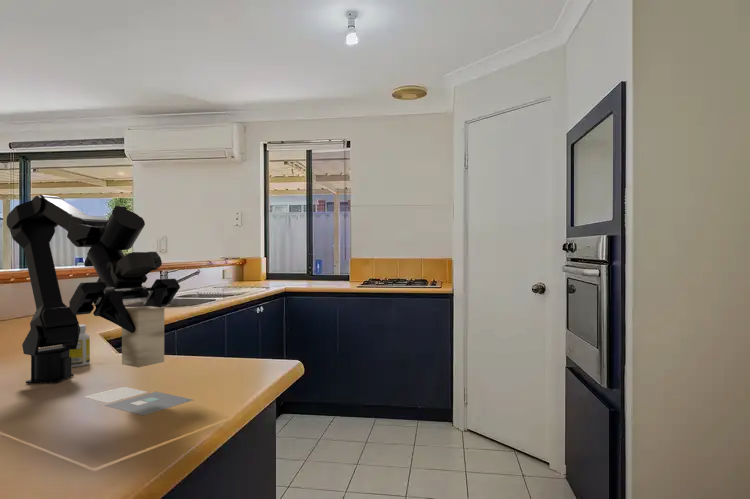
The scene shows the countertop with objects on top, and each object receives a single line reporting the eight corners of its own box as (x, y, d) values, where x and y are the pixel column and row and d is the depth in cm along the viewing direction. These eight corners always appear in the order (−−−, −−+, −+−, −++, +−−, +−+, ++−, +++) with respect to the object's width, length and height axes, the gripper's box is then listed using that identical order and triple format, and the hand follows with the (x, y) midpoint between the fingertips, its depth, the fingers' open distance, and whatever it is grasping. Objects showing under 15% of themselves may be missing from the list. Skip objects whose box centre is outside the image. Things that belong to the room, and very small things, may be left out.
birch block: (121, 364, 86) (122, 308, 86) (147, 359, 90) (147, 306, 90) (138, 367, 83) (138, 310, 83) (164, 362, 88) (164, 307, 88)
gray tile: (104, 407, 84) (104, 405, 84) (156, 393, 93) (156, 391, 93) (142, 417, 78) (142, 415, 78) (194, 401, 87) (194, 399, 87)
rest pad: (83, 398, 89) (83, 396, 90) (124, 388, 96) (124, 386, 96) (107, 404, 85) (107, 403, 85) (148, 393, 92) (148, 392, 92)
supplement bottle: (80, 362, 122) (81, 323, 122) (94, 364, 119) (94, 324, 120) (59, 366, 117) (59, 326, 117) (72, 368, 114) (72, 327, 115)
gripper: (78, 235, 81) (115, 303, 75) (174, 238, 97) (211, 295, 91) (54, 280, 85) (88, 348, 79) (150, 276, 101) (184, 333, 95)
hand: (147, 329), depth 86 cm, fingers closed on birch block, 5 cm apart
